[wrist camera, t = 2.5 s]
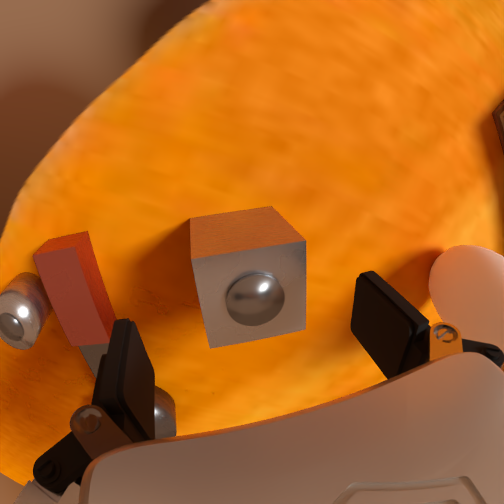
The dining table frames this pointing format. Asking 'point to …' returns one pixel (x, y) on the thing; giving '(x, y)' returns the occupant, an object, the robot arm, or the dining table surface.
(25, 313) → the socket
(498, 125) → the diary
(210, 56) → the dining table surface
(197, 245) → the socket
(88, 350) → the ratchet
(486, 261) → the white air blower bulb
